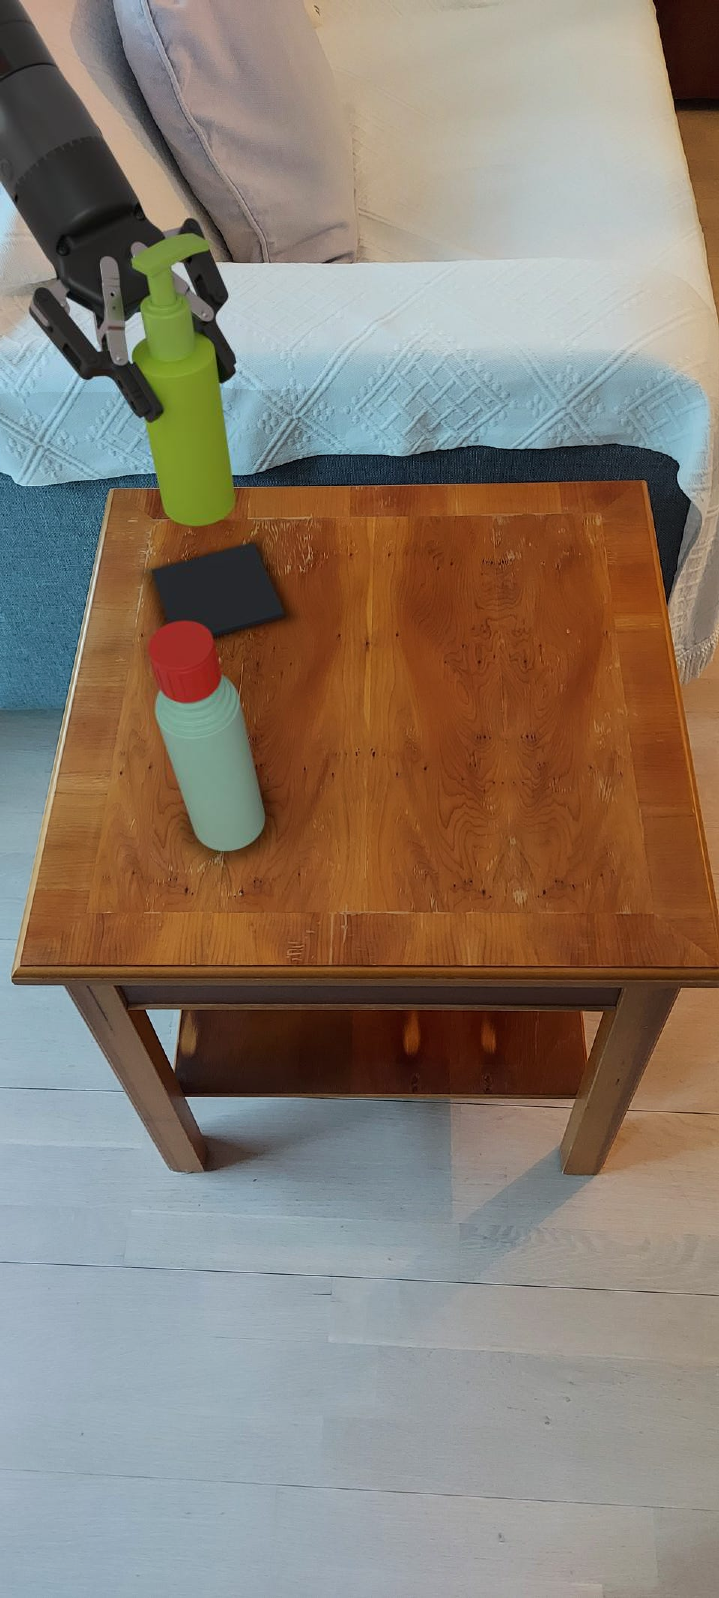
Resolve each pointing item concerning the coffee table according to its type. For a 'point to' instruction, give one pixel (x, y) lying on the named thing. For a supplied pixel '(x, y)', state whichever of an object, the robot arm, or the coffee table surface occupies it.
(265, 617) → the mat
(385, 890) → the coffee table surface
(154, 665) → the cap
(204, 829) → the bottle
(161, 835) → the coffee table surface
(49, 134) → the robot arm
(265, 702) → the coffee table surface
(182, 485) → the soap dispenser
